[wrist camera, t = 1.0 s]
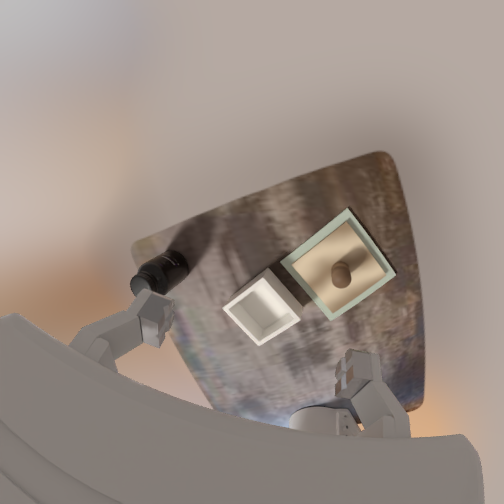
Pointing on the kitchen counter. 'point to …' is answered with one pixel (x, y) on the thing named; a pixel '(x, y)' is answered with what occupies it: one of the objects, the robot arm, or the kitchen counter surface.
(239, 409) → the kitchen counter surface
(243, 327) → the white open box
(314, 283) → the oak lid
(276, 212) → the kitchen counter surface
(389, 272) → the sage mat
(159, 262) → the supplement bottle
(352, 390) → the robot arm
